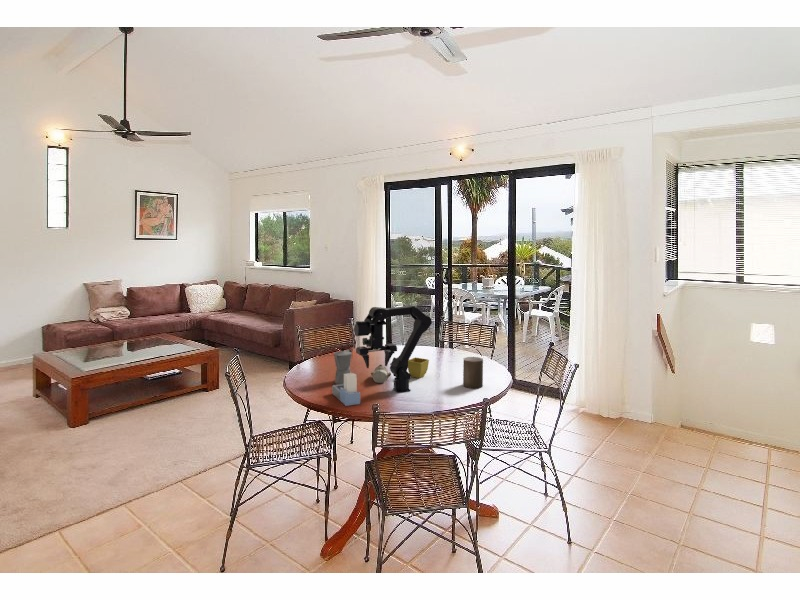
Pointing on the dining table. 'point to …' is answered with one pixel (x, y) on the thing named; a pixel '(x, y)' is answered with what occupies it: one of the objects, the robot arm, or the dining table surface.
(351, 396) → the light blue notched block
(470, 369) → the pillar candle
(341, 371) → the coffeepot
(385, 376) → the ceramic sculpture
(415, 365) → the flower pot
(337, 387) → the blue open box
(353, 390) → the plug post
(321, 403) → the dining table surface
